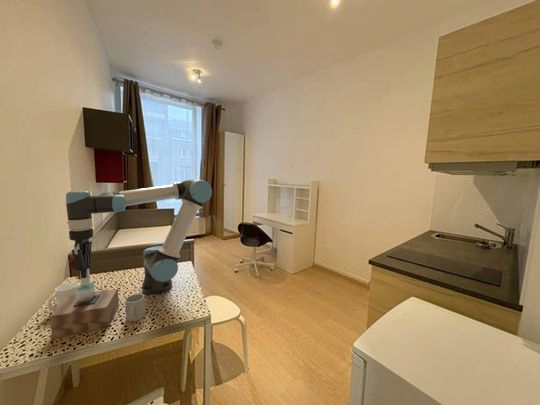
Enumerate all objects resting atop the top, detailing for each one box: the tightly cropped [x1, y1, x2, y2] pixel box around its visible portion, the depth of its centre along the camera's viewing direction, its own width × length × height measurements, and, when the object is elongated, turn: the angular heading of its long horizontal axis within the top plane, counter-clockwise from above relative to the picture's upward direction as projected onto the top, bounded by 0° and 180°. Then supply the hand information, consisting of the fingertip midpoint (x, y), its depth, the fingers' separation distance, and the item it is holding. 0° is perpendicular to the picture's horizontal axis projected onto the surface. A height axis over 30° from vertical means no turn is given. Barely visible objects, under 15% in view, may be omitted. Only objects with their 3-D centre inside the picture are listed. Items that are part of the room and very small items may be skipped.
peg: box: [78, 281, 96, 303], centre depth 95 cm, size 4×4×9 cm
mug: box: [46, 281, 80, 311], centre depth 104 cm, size 12×8×10 cm
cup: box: [124, 293, 146, 323], centre depth 97 cm, size 7×10×9 cm
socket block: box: [49, 288, 120, 339], centre depth 96 cm, size 18×16×10 cm
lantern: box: [68, 256, 93, 281], centre depth 121 cm, size 10×10×30 cm
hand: (85, 284), depth 94 cm, fingers closed
